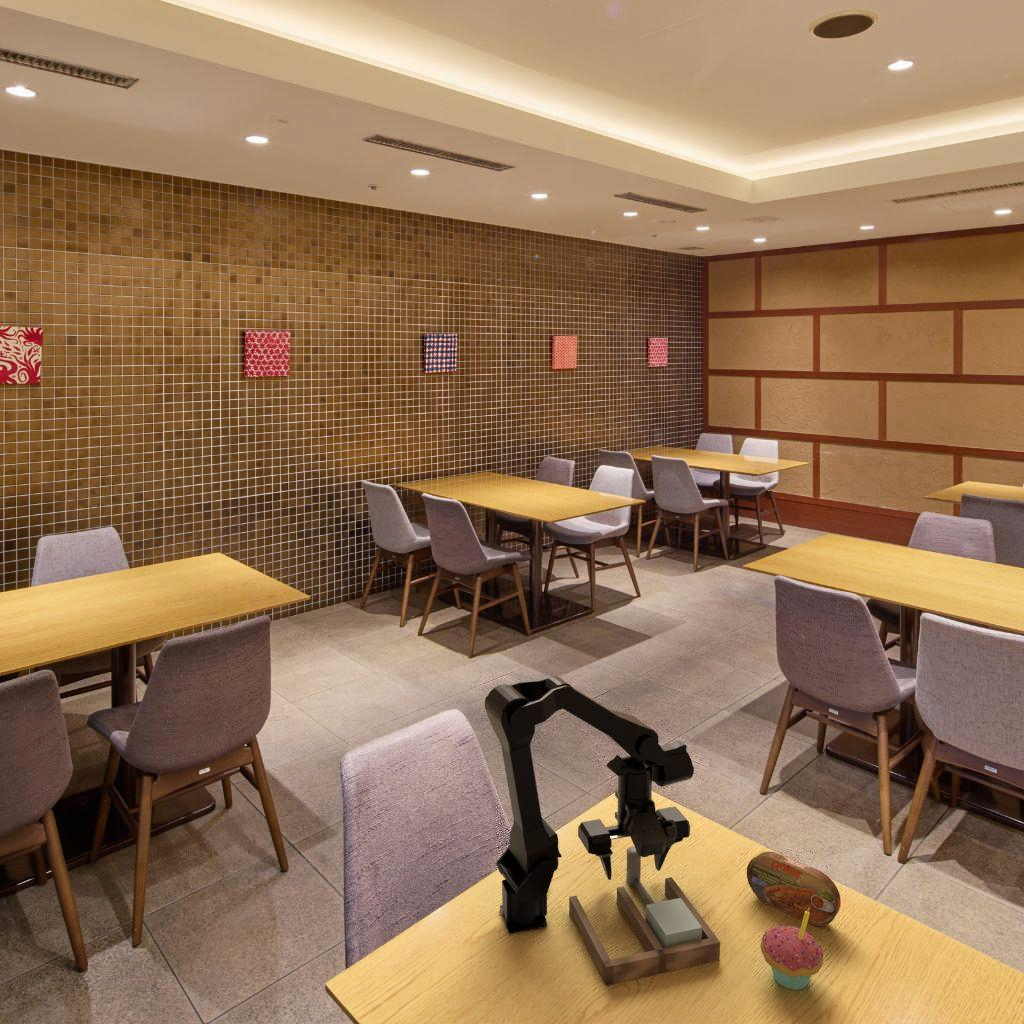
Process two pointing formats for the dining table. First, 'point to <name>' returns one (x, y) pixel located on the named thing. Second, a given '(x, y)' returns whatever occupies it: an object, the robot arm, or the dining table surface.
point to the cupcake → (792, 954)
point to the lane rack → (644, 941)
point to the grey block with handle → (664, 911)
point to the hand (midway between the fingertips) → (633, 873)
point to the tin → (794, 888)
